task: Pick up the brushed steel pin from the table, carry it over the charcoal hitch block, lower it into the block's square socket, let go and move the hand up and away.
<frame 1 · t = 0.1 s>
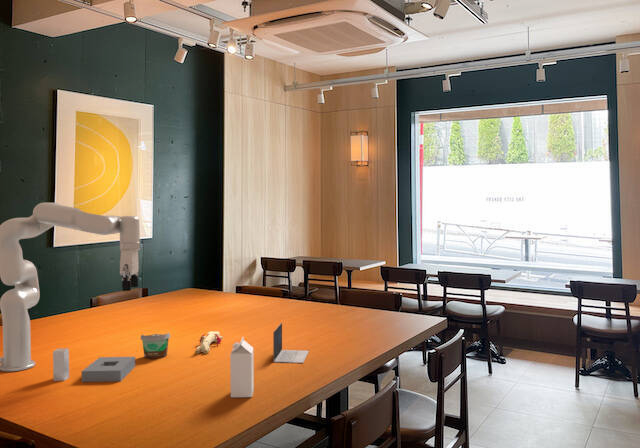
hand: (130, 288, 211), 31 cm above the table, tool pointing down, fingers open, 9 cm apart
milk carton: (242, 394, 179), on the table
steel pin: (61, 379, 195), on the table
food container: (155, 358, 223), on the table
hitch block: (109, 373, 201), on the table
beige piece: (208, 347, 241), on the table
laptop: (291, 358, 224), on the table
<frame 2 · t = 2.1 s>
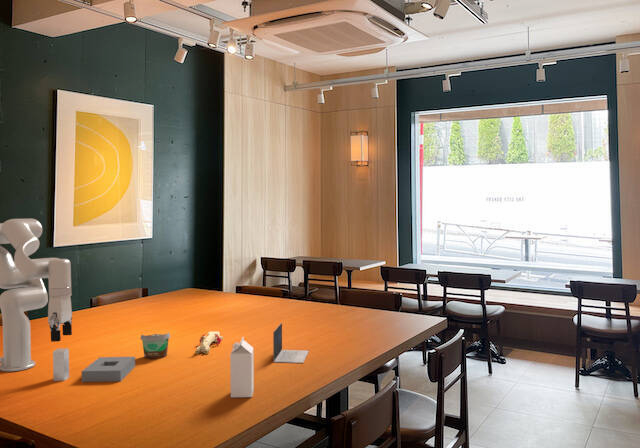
hand: (61, 338, 194), 15 cm above the table, tool pointing down, fingers open, 9 cm apart
nothing on the table moved.
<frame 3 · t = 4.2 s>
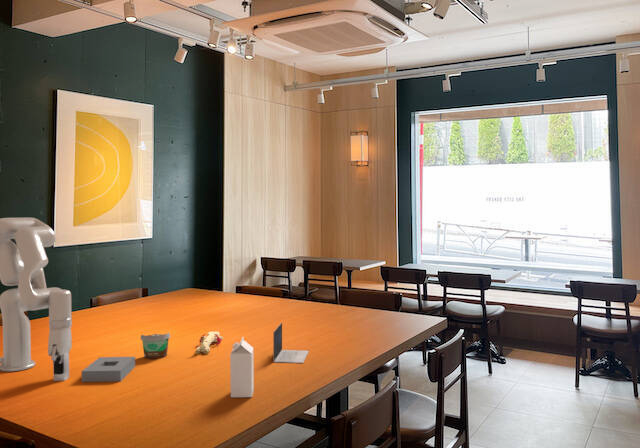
hand: (61, 371, 195), 3 cm above the table, tool pointing down, fingers closed on steel pin, 4 cm apart
steel pin: (61, 379, 195), on the table, touching gripper
everything else where it was.
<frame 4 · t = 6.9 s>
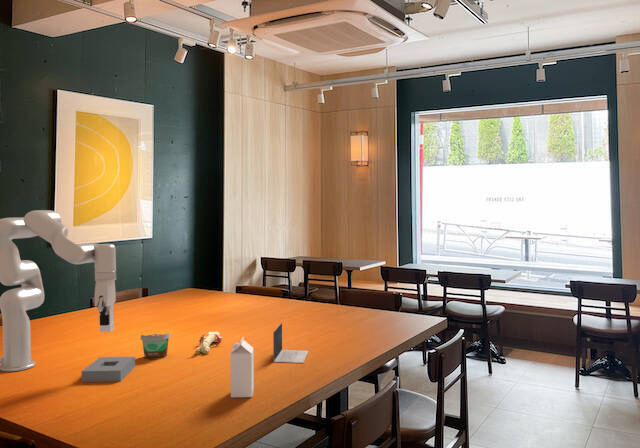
hand: (106, 323, 200), 20 cm above the table, tool pointing down, fingers closed on steel pin, 4 cm apart
steel pin: (106, 330, 200), point 17 cm above the table, touching gripper
everything else where it was.
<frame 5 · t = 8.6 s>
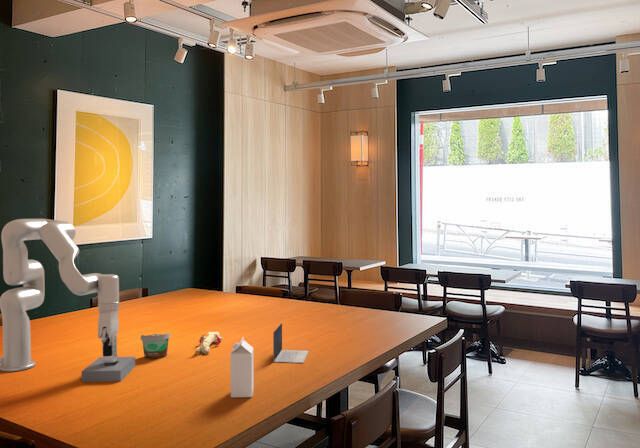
hand: (109, 353, 201), 8 cm above the table, tool pointing down, fingers closed on steel pin, 4 cm apart
steel pin: (109, 360, 201), point 5 cm above the table, touching gripper
everything else where it was.
when the fingers open (5 cm above the table, at t = 9.8 s): steel pin drops 2 cm, resting in hitch block.
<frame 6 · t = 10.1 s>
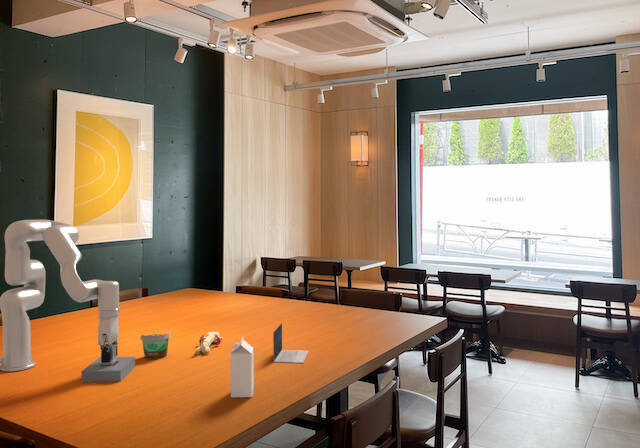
hand: (109, 358, 201), 6 cm above the table, tool pointing down, fingers open, 7 cm apart
steel pin: (109, 373, 201), resting in hitch block
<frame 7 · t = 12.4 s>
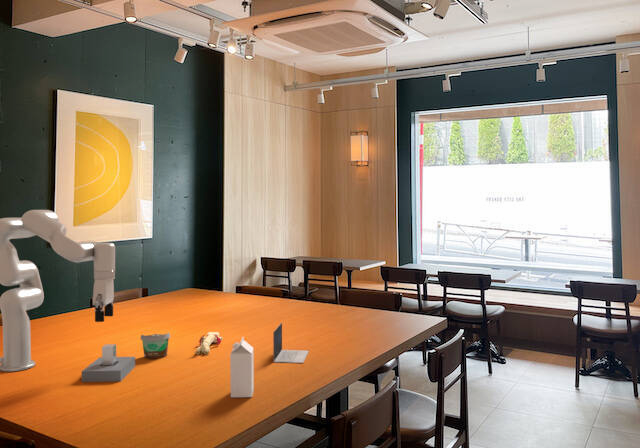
hand: (104, 318, 202), 21 cm above the table, tool pointing down, fingers open, 9 cm apart
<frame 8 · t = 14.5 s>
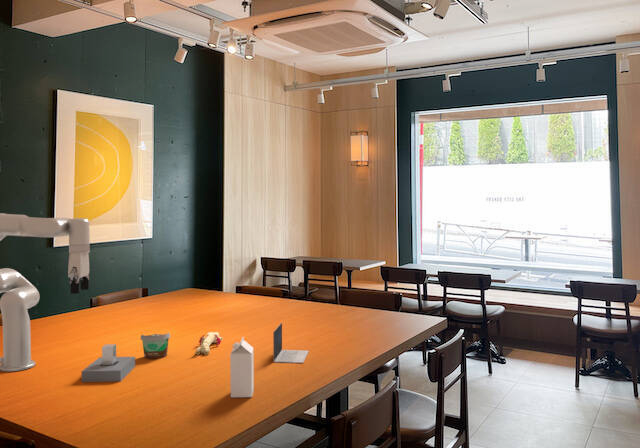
hand: (80, 291, 210), 30 cm above the table, tool pointing down, fingers open, 9 cm apart
at the end: steel pin 0.1 cm off-centre on the hitch block, point 0.0 cm above the hitch block's base; steel pin tilted 0°; the gripper is holding nothing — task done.
